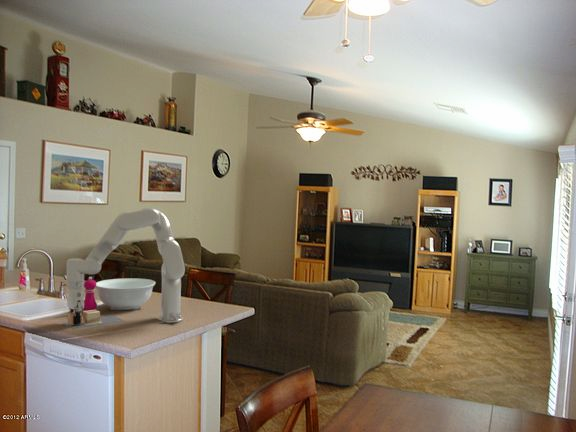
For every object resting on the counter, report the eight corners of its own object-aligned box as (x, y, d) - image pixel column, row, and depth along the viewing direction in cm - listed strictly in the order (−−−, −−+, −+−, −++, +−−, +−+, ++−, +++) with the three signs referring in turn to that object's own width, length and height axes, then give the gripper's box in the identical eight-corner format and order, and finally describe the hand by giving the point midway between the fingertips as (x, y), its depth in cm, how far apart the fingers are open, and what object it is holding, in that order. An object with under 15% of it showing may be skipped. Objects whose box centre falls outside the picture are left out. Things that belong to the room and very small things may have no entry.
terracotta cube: (82, 323, 229) (82, 313, 229) (71, 325, 225) (71, 314, 225) (78, 321, 232) (78, 311, 232) (67, 323, 229) (67, 312, 229)
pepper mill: (87, 317, 247) (88, 278, 247) (78, 315, 251) (79, 276, 250) (99, 314, 253) (100, 276, 253) (91, 312, 257) (91, 275, 257)
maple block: (99, 322, 234) (100, 311, 234) (87, 324, 230) (87, 313, 230) (95, 319, 238) (95, 309, 238) (82, 321, 234) (83, 311, 234)
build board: (125, 323, 238) (125, 320, 238) (72, 330, 222) (72, 328, 222) (113, 317, 249) (113, 315, 249) (62, 324, 232) (62, 322, 232)
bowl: (80, 311, 259) (81, 284, 258) (118, 300, 290) (119, 276, 289) (132, 317, 249) (133, 289, 249) (166, 305, 280) (166, 280, 280)
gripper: (89, 286, 224) (89, 325, 225) (77, 281, 237) (76, 318, 238) (73, 288, 219) (72, 328, 220) (60, 282, 232) (60, 320, 233)
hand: (74, 322), depth 229 cm, fingers closed on terracotta cube, 4 cm apart
